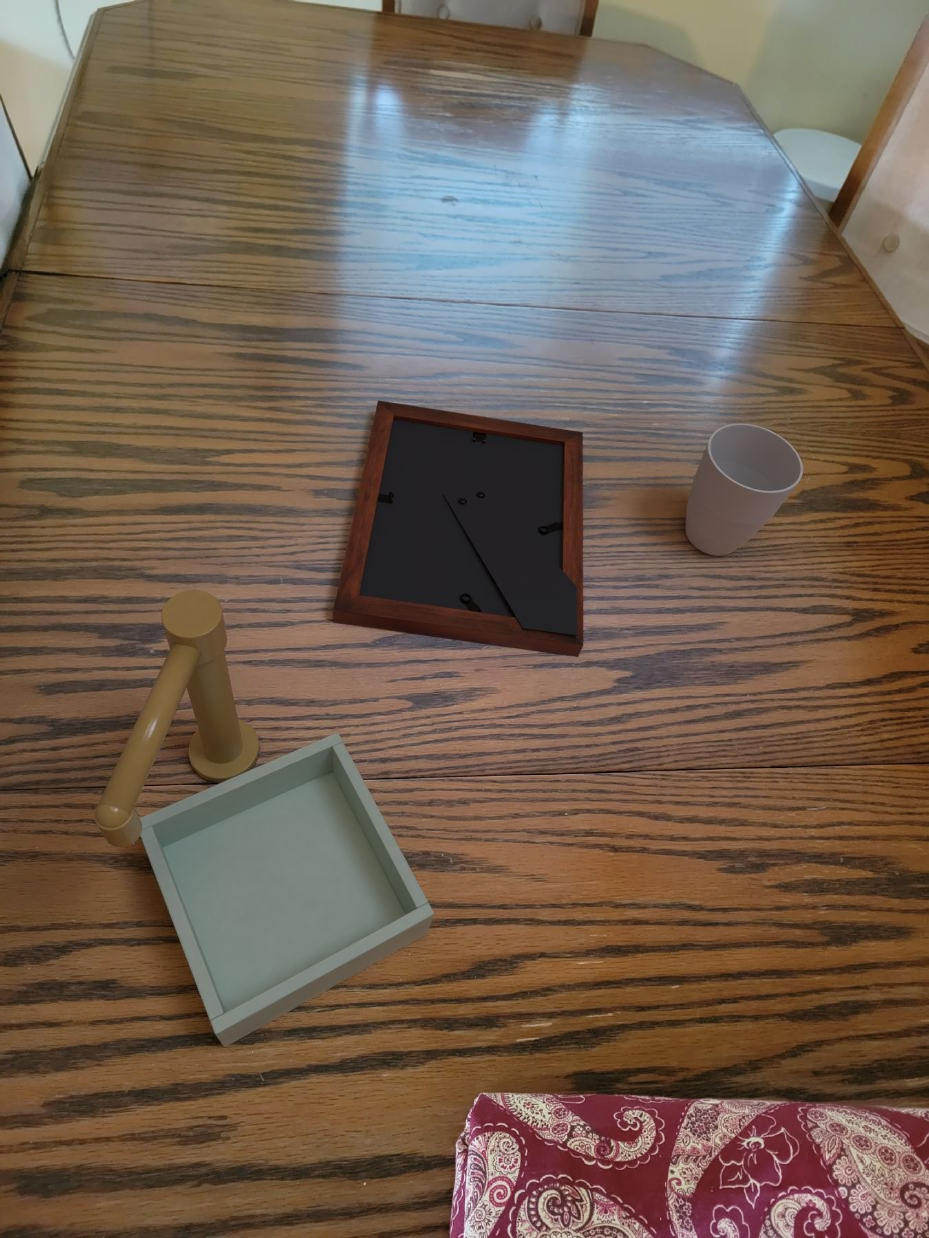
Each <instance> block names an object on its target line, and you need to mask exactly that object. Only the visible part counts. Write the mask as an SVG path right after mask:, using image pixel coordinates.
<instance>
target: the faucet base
mask: <svg viewBox="0 0 929 1238" xmlns="http://www.w3.org/2000/svg"><path fill="white" fill-rule="evenodd" d="M186 690H187V695H188V697H189V702H190V704H191V708H192V711H193V714H194V719H195V722H196V725H197V730H195V732H194V733H193V734H192V736H191V738H190V739H189V740H190V741H189V743H188V749H187V750H188V751H187V753H188V754H187V755H188V758H189V763H190V765H191V767H192V769H193V770H194V772H195V773H196V774H197V775H198V776H199V777H201V778H202V779H204V780H205V781H207V782H212V783H217V784H219V783H222V782H224V781H226V780H229V779H231V778H233V777H236V776H238V775H240V774H243V773H245V772H247V771H249V770H252V769H254V768H255V765H256V763H257V762H258V760H259V757H260V749H261V747H260V741H259V738H258V734H257V732H256V730H255V729H254V727H252V726H251V725H250V723H248V722H246V721H244V720H243V719H240V718H238V713H237V706H236V701H235V697H234V692H233V687H232V682H231V677H230V671H229V666H228V661H227V656H226V650H225V649H224V651H223V652H222V653H221V654H220V655H219V656H218V657H217V658H216V659H214V660H212V661H210V662H208V663H204V664H197V665H196V667H195V670H194V672H193V674H192V676H191V679H190V681H189V683H188V686H187V688H186Z"/></svg>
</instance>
